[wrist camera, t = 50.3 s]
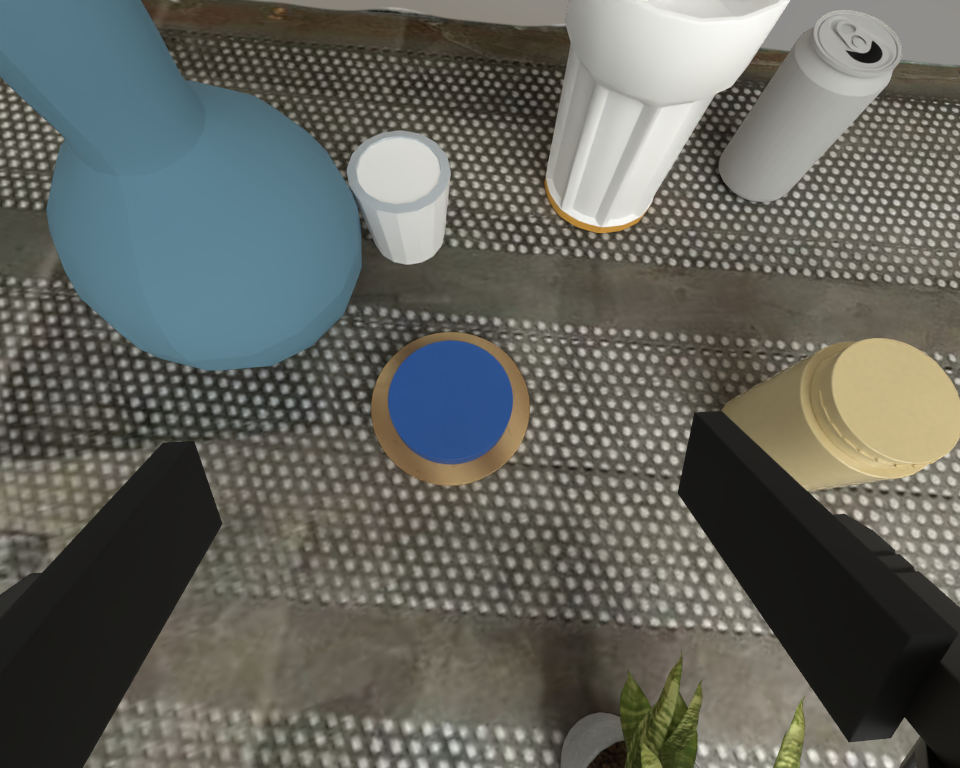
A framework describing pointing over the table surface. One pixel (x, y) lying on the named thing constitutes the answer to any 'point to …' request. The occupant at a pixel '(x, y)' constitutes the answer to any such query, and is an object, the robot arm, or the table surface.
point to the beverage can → (809, 103)
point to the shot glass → (402, 193)
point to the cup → (641, 96)
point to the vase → (180, 192)
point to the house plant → (655, 732)
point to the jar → (852, 414)
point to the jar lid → (450, 402)
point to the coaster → (448, 472)
